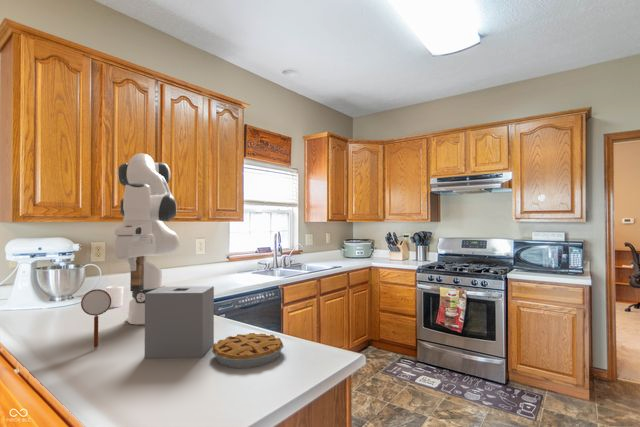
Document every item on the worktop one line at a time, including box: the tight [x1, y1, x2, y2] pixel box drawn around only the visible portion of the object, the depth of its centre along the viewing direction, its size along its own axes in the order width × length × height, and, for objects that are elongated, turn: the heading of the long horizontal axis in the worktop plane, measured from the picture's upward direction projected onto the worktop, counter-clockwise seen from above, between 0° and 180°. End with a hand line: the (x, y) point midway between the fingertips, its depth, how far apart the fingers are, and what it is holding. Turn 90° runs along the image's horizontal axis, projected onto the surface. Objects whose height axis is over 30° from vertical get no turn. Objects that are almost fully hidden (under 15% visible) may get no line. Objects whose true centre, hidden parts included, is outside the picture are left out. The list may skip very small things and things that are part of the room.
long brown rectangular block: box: [130, 256, 144, 292], centre depth 123 cm, size 3×3×16 cm
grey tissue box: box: [144, 285, 215, 359], centre depth 117 cm, size 12×18×20 cm, turn 90°
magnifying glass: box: [80, 288, 111, 351], centre depth 119 cm, size 9×2×20 cm, turn 114°
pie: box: [211, 332, 285, 369], centre depth 112 cm, size 22×22×5 cm
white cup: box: [105, 285, 125, 309], centre depth 183 cm, size 8×8×10 cm
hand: (137, 269), depth 123 cm, fingers closed on long brown rectangular block, 3 cm apart
